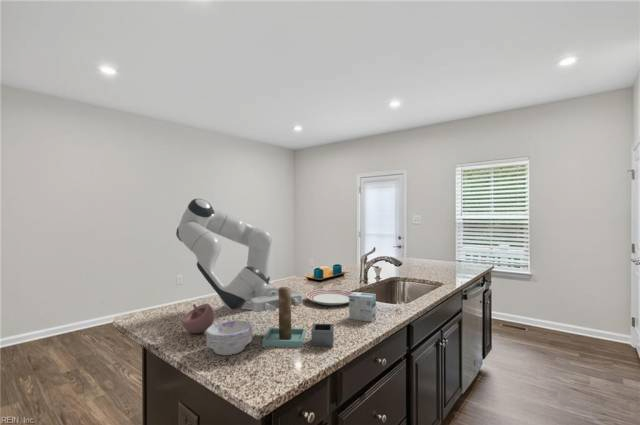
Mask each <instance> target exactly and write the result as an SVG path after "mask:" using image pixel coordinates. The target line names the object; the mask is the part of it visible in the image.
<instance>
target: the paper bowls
mask: <svg viewBox="0 0 640 425" xmlns="http://www.w3.org/2000/svg"><path fill="white" fill-rule="evenodd" d="M205 336H206V337H205V338H206V339H205V341H206V342H205V343H206V344H205V345H206V347H208V348H210V349H212V351H213V352H214V354H217V355H219V356H232V354H233V355H236V354H239V353H241V352H243V351H244V350H245V348H246V346H247V345H249V343H251V342H252V339H253V326H252V323H250V322H248V321H245V320H227V321H221V322H218V323H213V324H212V325H211V326H210V327H209V328H208V329H207V330H206V331H205Z"/></svg>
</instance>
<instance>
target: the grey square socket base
mask: <svg viewBox="0 0 640 425" xmlns="http://www.w3.org/2000/svg"><path fill="white" fill-rule="evenodd" d="M334 331H335V330H334V323H316V322H315V323H314V322H313V324H312V327H311V334H310V335H311V339H310V340H311V347H312V348H334V337H335V334H334V333H335V332H334Z"/></svg>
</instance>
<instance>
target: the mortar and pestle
mask: <svg viewBox="0 0 640 425" xmlns="http://www.w3.org/2000/svg"><path fill="white" fill-rule="evenodd" d="M192 307H193V309H191V310H190V311H189V312H187V314H185V315H184V316H183V318H182V321H181V323H182V326H183V327H184V329H185V330H186V331H187V332H189V333H192V334H201V333H205V332H206V330H207V329H208V328H209V327H210V326H212V325H213V324H214V320H215V310H214V309H213V307H212V305H210V304H209V303H203V304H200V305H196V304H192Z"/></svg>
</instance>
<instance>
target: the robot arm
mask: <svg viewBox="0 0 640 425" xmlns="http://www.w3.org/2000/svg"><path fill="white" fill-rule="evenodd" d="M175 234H176V238H177V239H178V240H179V241H180V242H182V243H183V244H184V246H185V247H187V249H188V250H189V251H191V253H193V254H194V255H195V257H196V260H197V262H196V266H197V269H198V270H199V272H200V273H201V275H202V276H203V277H204V279H205V280H206V281H207V283H208V285H209V284H210V286H211V288H212V289H213V290H214V291H215V292H216V294H217V295H218V297H219V298H220V300H221V302H222V304H223V305H224V306H225V307H226V308H228V310H231V311H236V310H251V311H253V312H255V313H260V312H265V311H271V312H276V311H277V309H279V288H290V287H289V286H285V287H283V286H281V287H280V286H279V287H278V286H272V285H271V276H270V257H271V249H272V248H271V246H272V237H271V234H270V233H269V232H268V231H267V230H265V229H263V228H262V229H261V228H258V227H257V226H254V225H252V224H250V223H247V222H245V221H243V220H241V219H239V218H237V217H235V216H233V215H231V214H229V213H226V212H223V211H220V210H218V209H214V208H213V207H212V205H211V204H210V202H209V201H207V200H205V199H202V198H194V199H192V200H191V201H190V202H189V203H188V205H187V208H186V209H185V211H184V212H183V214H182V216H181V219H180V222H179V224H178V226H177V228H176V233H175ZM215 234H216V235H218V236H220V237H222V238H225V239H228V240H231V241H232V242H234V243H238V244H239V245H243V246H245V247H247V248H248V251H247V252H248V254H247V262H246V266H244V267H243V268H242V270H240V272H239V273H238V274H237V275H236V276H235V277H234V278H233V279H232V281H230V283H228V285H227V286H226V285H224V283H223V282H222V281H221V279H220V278H219V276H217V275H216V273H215V266H216V263H217V261H218V259H219V257H220V254H221V249H222V246H221V240H220V239H219V238H218V237H217V236H216V235H215ZM302 303H303V295H302V293H301V292H298V291H297V290H295V289H294V290H293V289H291V306H293V307H299V306H300V305H301V304H302Z"/></svg>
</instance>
